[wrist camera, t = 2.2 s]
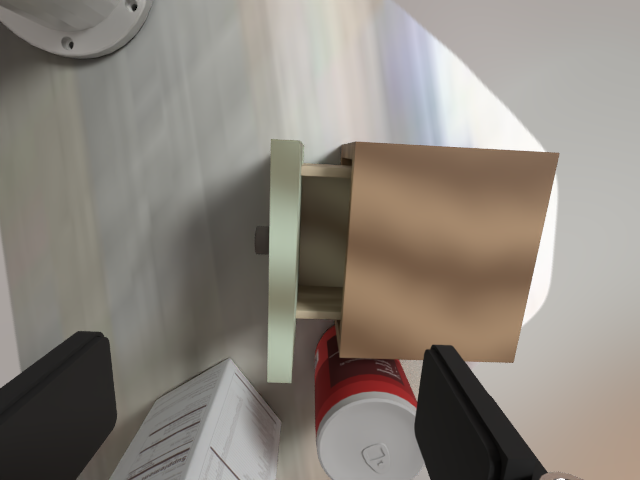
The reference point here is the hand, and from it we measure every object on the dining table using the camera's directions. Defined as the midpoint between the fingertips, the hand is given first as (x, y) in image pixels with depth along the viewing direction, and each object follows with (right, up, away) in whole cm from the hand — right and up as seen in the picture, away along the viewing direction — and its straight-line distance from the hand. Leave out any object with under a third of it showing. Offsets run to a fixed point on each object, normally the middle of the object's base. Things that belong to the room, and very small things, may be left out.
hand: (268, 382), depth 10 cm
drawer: (+4, +5, +20) cm, 21 cm away
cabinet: (+9, +5, +20) cm, 23 cm away
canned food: (+5, -7, +23) cm, 25 cm away
